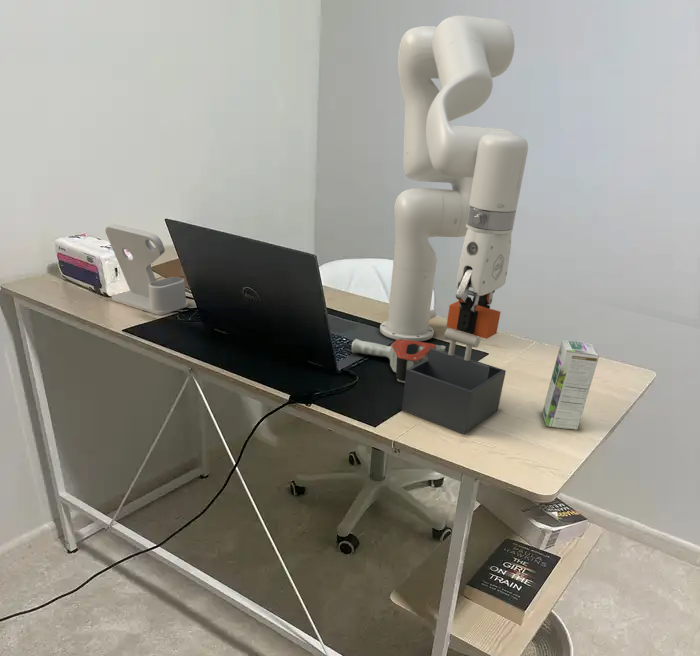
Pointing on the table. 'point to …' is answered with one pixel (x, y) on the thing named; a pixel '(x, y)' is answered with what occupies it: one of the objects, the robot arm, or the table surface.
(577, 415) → the syrup box
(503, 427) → the table surface
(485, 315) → the orange block
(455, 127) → the robot arm
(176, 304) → the phone holder
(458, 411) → the caddy
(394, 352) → the tape dispenser
